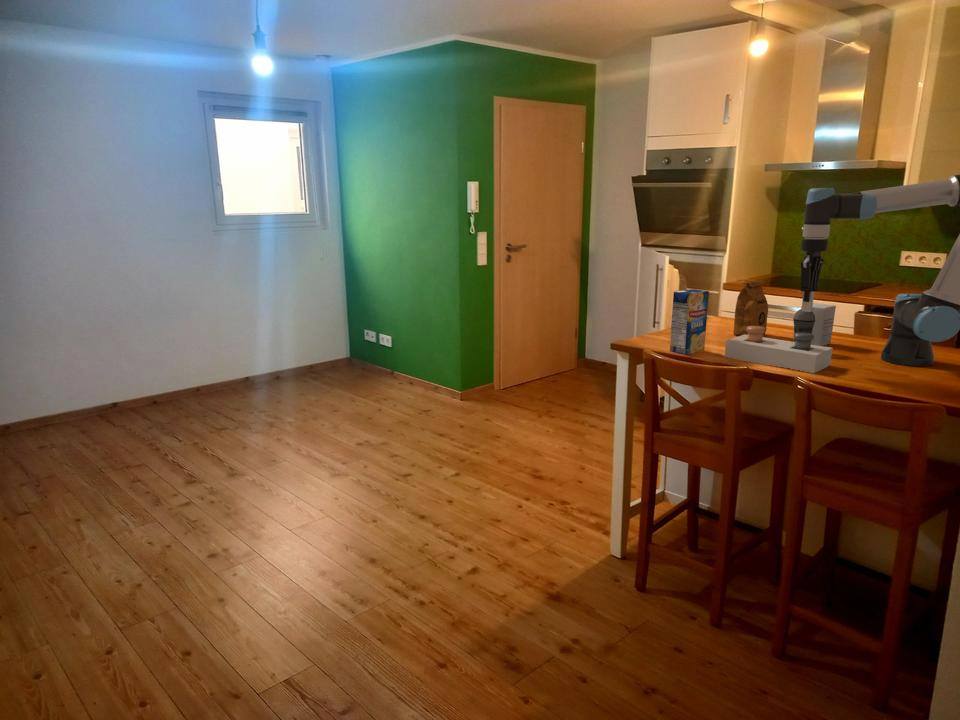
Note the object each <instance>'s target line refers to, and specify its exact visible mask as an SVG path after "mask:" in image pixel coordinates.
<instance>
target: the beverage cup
mask: <svg viewBox="0 0 960 720" xmlns="http://www.w3.org/2000/svg"><path fill="white" fill-rule="evenodd" d="M792 320H793V334H794V333H810V334H812V330H813V326H814V324H815V321H816V320H815V315H814V313H813V312H804V311H801V308H800V309H799V310H797V311H796V312H795V313H794V315H793V318H792ZM793 342H795V339H794V338H793Z"/></svg>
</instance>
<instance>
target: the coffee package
mask: <svg viewBox="0 0 960 720" xmlns="http://www.w3.org/2000/svg"><path fill="white" fill-rule="evenodd" d="M764 284H765V281H764V280H763V279H762V280H761V279H760V280H754V281H747V282H745V284H744V285H743V287H742V288H741V290H740V292H739V293H738V295H737V298H736V304H735V310H734V322H733V324H734V325H733V335H734V336H741V335H744V334H745V335H748V332H747V331H746V330H747V326H761V327H765V333H763V334H764V335H765V334H766V333H767V325H768V316H769V315H768V313H769V304H768V303H769V302H768V300H767V297H766V295H765V294H764V290H763V285H764Z"/></svg>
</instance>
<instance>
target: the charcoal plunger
mask: <svg viewBox="0 0 960 720" xmlns="http://www.w3.org/2000/svg"><path fill="white" fill-rule="evenodd" d="M792 338H793V340H794V339H795V345H794V349H798V350H805V351H809V350H810V347H811V340H813V339H814V335H813V334H810V333H794V332H793V337H792Z"/></svg>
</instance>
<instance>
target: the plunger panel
mask: <svg viewBox="0 0 960 720" xmlns="http://www.w3.org/2000/svg"><path fill="white" fill-rule="evenodd" d="M747 339H748V335H745V334H744V335H741V336H739V335H737V336H736V337H734V338H730V339H728V340H725V350H724V358H726V357H728V358H727V359H732V358H733V359H732V360H737V361H738V360H739V361H744V362H748V363H753V364H755V363H756V364H760V365H765V366H770V365H771V367H776V366H778V367H777V368H781V367H784V368H783V369H787V368H790V369H789V370H792V369H795V370H794V371H798V370H800V371H799V372H803V371H804V372H805V373H808V372H809V374H816V373H818V372H820V371H821V370H824V369H826V368H828V367H830V366H831V364H832V363H831V362H832V354H833V347H831V346H830V347H829V346H817V345H811V347H810V350H809V351H805V350H798V349H794V345H795V342H794V341H789V340H783V339H775V338H770V337H764V336H763V339H762V343H755V342H748V341H747Z"/></svg>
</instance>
